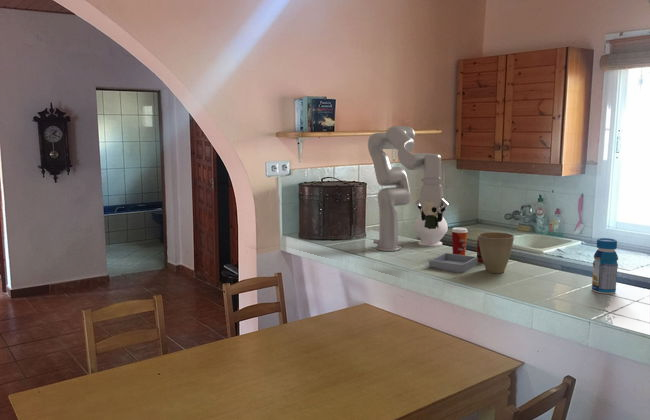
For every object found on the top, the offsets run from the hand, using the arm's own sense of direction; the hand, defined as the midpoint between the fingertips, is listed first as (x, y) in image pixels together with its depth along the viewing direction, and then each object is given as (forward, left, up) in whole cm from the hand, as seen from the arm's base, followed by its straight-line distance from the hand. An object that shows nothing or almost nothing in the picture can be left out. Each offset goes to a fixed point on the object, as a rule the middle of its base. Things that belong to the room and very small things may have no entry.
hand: (431, 220), depth 252 cm
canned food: (+18, +20, -20) cm, 34 cm away
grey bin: (+10, +2, -20) cm, 23 cm away
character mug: (0, 0, -4) cm, 4 cm away
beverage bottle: (+72, -2, -20) cm, 75 cm away
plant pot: (+28, +4, -20) cm, 35 cm away
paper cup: (+5, +20, -20) cm, 29 cm away
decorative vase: (-20, +41, -20) cm, 49 cm away
